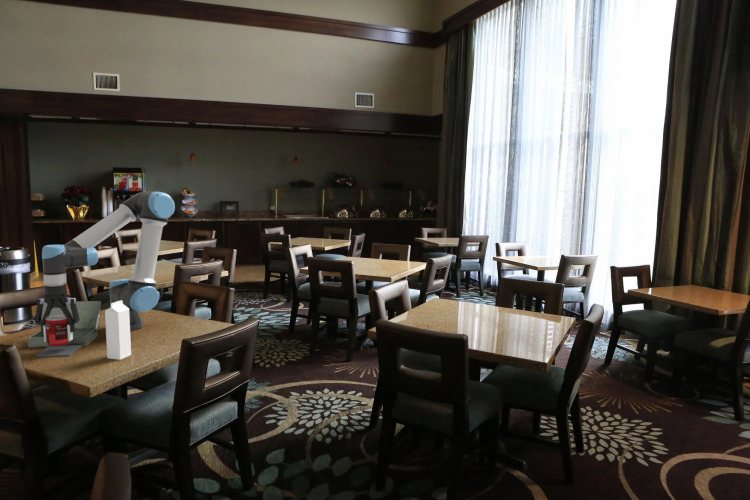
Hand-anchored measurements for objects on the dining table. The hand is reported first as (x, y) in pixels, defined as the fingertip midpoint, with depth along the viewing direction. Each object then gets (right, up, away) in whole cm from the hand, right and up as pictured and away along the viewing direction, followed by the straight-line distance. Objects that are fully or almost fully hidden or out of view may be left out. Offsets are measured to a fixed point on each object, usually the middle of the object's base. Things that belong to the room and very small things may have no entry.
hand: (58, 340), depth 200 cm
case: (-6, -3, +15) cm, 17 cm away
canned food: (0, -1, 0) cm, 1 cm away
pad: (0, -5, +1) cm, 5 cm away
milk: (+26, -6, -4) cm, 27 cm away
